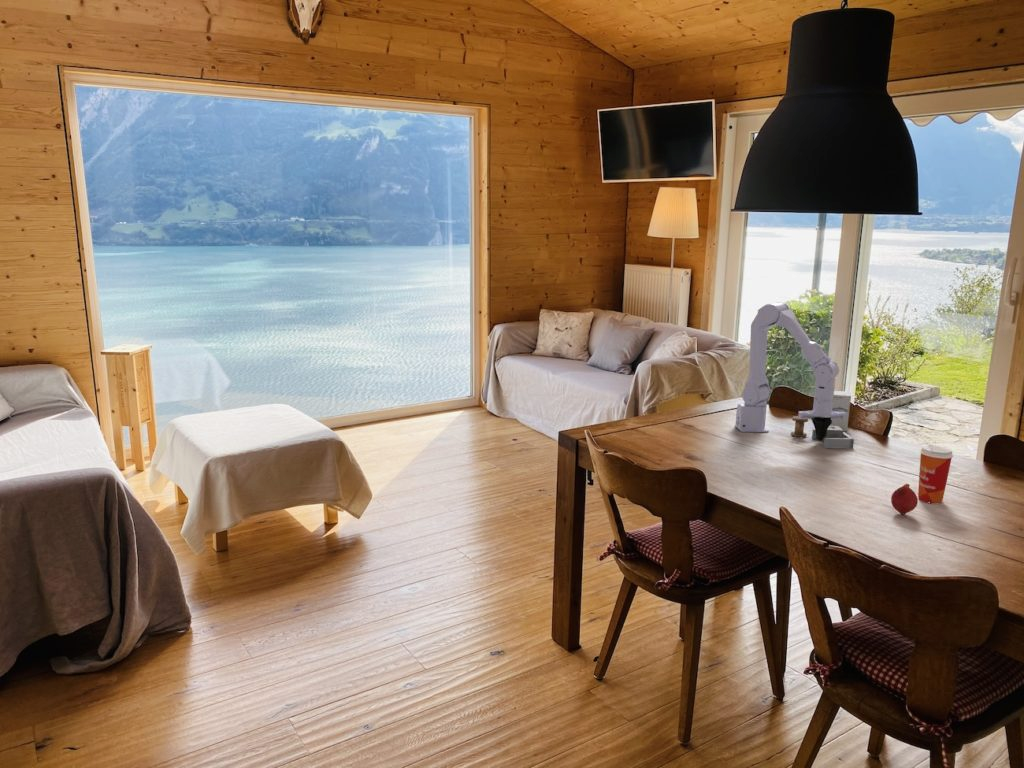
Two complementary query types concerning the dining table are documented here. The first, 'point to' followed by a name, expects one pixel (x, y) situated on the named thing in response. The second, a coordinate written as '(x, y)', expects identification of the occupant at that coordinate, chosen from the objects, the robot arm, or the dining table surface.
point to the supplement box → (841, 408)
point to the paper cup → (933, 472)
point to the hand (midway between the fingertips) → (819, 439)
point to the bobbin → (799, 427)
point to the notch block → (836, 441)
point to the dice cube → (833, 432)
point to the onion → (904, 499)
